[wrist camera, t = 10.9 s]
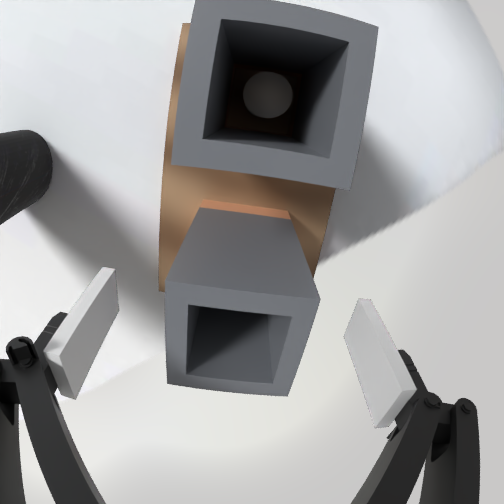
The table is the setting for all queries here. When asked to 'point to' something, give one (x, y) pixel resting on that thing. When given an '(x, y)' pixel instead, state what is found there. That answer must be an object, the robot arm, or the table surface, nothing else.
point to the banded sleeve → (238, 302)
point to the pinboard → (235, 183)
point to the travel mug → (22, 171)
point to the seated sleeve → (285, 63)
